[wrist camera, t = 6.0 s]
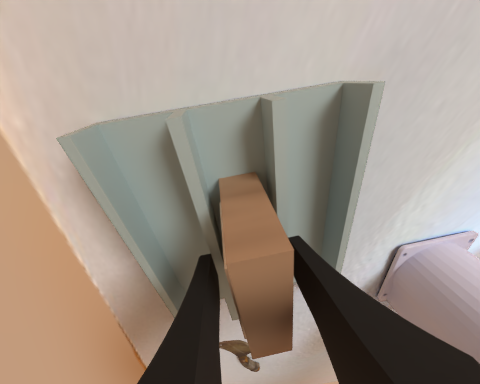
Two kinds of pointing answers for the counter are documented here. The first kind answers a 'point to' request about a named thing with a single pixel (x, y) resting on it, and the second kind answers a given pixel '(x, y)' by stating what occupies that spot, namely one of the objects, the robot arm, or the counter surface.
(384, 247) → the counter surface
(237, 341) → the brown knife
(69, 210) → the counter surface
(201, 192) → the notched rack
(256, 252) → the tan wooden slab
